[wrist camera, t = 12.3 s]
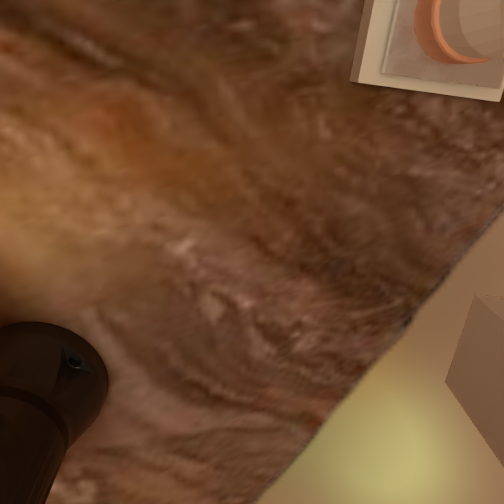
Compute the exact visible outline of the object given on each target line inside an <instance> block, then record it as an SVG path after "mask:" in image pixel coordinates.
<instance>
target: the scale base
mask: <svg viewBox="0 0 504 504" xmlns="http://www.w3.org/2000/svg"><path fill="white" fill-rule="evenodd" d="M396 4H397V0H365V3H364V8H363V13H362V18H361V24H360V29H359V34H358V39H357V44H356V50H355V55H354V60H353V65H352V70H351V75H350V81H349V82H357V83H364V84H371V85H379V86H386V87H393V88H400V89H408V90H415V91H422V92H430V93H437V94H444V95H451V96H459V97H466V98H473V99H481V100H488V101H496V102H500V98H501V95H502V92H503V89H504V76H503V79H502V82H501V86H500V89H494V88H487V87H480V86H473V85H465V84H458V83H451V82H444V81H437V80H430V79H423V78H415V77H408V76H401V75H394V74H387V73H382V69H383V64H384V59H385V55H386V50H387V45H388V41H389V36H390V31H391V27H392V22H393V18H394V13H395V8H396Z"/></svg>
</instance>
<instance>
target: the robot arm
mask: <svg viewBox="0 0 504 504" xmlns="http://www.w3.org/2000/svg"><path fill="white" fill-rule="evenodd" d="M445 383H446V384H447V386H448V387H449V389H450V390H451V392H452V393H453V394H454V396H455V397H456V398H457V400H458V402H459V403H460V404H461V406H462V407H463V409H464V410H465V412H466V413H467V415H468V416H469V418H470V419H471V420H472V422H473V423H474V425H475V426H476V428H477V429H478V430H479V432H480V434H481V435H482V436H483V438H484V439H485V441H486V442H487V444H488V445H489V446H490V448H491V449H492V451H493V452H494V454H495V455H496V457H497V458H498V460H499V461H500V463H501V464H502V465H503V467H504V298H503V297H498V296H487V295H477V294H475V296H474V298H473V301H472V304H471V307H470V310H469V313H468V316H467V319H466V322H465V325H464V328H463V330H462V333H461V337H460V339H459V342H458V345H457V348H456V351H455V354H454V357H453V360H452V363H451V365H450V368H449V371H448V375H447V377H446V380H445ZM107 388H108V379H107V373H106V369H105V367H104V364H103V362H102V360H101V359H100V357H99V355H98V354H97V353H96V351H95V350H94V349H93V348H92V347H91V346H90V345H89V344H88V343H87V342H86V341H84V340H83V339H82V338H80V337H79V336H77V335H76V334H74V333H72V332H70V331H68V330H66V329H64V328H61V327H58V326H55V325H51V324H46V323H39V322H24V323H16V324H12V325H8V326H5V327H3V328H0V504H45V502H46V500H47V497H48V495H49V493H50V490H51V488H52V485H53V483H54V480H55V478H56V476H57V473H58V471H59V468H60V466H61V463H62V461H63V458H64V456H65V453H66V451H67V450H68V448H69V447H70V446H71V445H72V444H73V443H74V442H75V441H76V440H77V439H78V438H79V437H80V436H81V435H82V434H83V433H84V432H85V430H86V429H87V428H88V427H89V426H90V425H91V424H92V423H93V422H94V421H95V419H96V418H97V416H98V414H99V412H100V410H101V408H102V405H103V402H104V400H105V397H106V394H107Z"/></svg>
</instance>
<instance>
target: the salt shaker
mask: <svg viewBox="0 0 504 504" xmlns="http://www.w3.org/2000/svg"><path fill="white" fill-rule="evenodd" d="M414 28H415V31H416V35H417V39H418V42H419V44H420V45H421V47H422V48H423V49H424V51H425V52H426V54H428V55H429V56H431V57H432V58H433V59H435V60H436V61H439V62H443V63H447V64H474V63H483V62H486V61H488V60H491V59H499V58H504V0H418V3H417V6H416V9H415V24H414Z"/></svg>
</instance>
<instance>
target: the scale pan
mask: <svg viewBox="0 0 504 504" xmlns="http://www.w3.org/2000/svg"><path fill="white" fill-rule="evenodd" d="M417 3H418V0H397V4H396V8H395V13H394V18H393V22H392V27H391V31H390V36H389V41H388V45H387V50H386V55H385V59H384V64H383V69H382V73H387V74H394V75H401V76H408V77H415V78H423V79H430V80H437V81H444V82H451V83H458V84H465V85H473V86H480V87H487V88H494V89H500V86H501V82H502V79H503V76H504V58H499V59H491V60H488V61H486V62H483V63H474V64H447V63H443V62H439V61H436V60H435V59H433V58H432V57H431V56H429V55H428V54H426V52H425V51H424V49H423V48H422V47H421V45H420V44H419V42H418V39H417V35H416V31H415V28H414V24H415V9H416V6H417Z"/></svg>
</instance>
